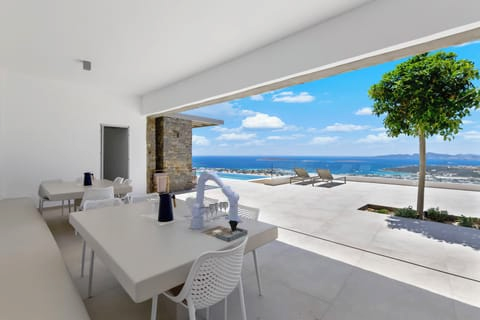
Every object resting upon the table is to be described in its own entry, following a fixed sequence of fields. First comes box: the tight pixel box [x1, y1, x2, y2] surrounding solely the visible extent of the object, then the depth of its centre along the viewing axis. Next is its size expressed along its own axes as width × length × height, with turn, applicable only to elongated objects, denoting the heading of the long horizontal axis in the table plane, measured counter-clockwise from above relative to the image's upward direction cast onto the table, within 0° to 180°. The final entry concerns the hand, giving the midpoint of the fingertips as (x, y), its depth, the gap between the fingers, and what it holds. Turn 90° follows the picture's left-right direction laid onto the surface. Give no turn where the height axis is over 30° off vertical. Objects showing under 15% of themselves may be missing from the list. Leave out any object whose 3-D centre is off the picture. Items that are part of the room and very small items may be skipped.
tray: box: [215, 227, 248, 243], centre depth 148 cm, size 11×18×4 cm, turn 139°
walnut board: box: [201, 225, 232, 238], centre depth 157 cm, size 15×18×1 cm
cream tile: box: [213, 230, 222, 235], centre depth 152 cm, size 4×4×2 cm
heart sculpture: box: [185, 196, 196, 220], centre depth 191 cm, size 16×5×18 cm, turn 60°
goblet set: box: [203, 201, 230, 224], centre depth 191 cm, size 28×6×13 cm, turn 144°
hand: (233, 231), depth 154 cm, fingers closed
